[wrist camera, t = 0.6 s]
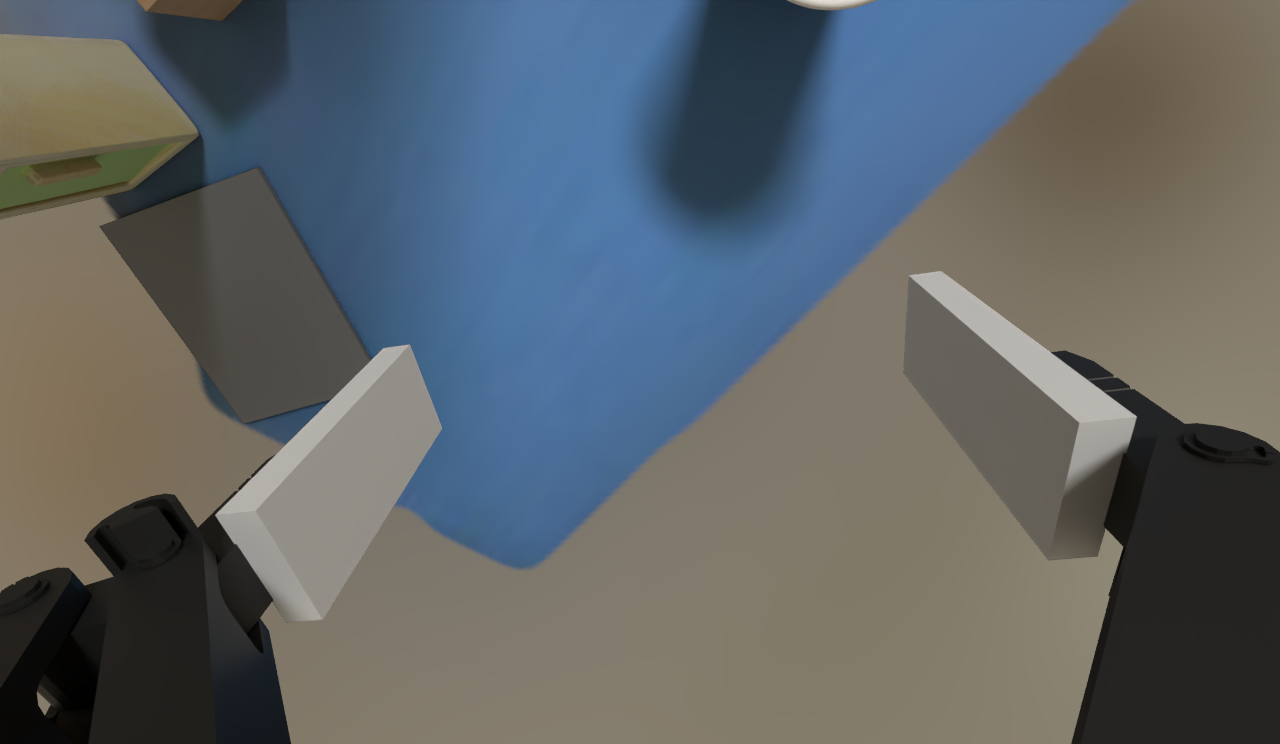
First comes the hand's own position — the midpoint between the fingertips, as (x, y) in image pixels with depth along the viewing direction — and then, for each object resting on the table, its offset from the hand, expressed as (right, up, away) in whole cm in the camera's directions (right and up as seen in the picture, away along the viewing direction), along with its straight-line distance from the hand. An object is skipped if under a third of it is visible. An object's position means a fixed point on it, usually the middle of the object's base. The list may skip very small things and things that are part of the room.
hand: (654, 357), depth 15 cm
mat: (-31, +5, +30) cm, 44 cm away
